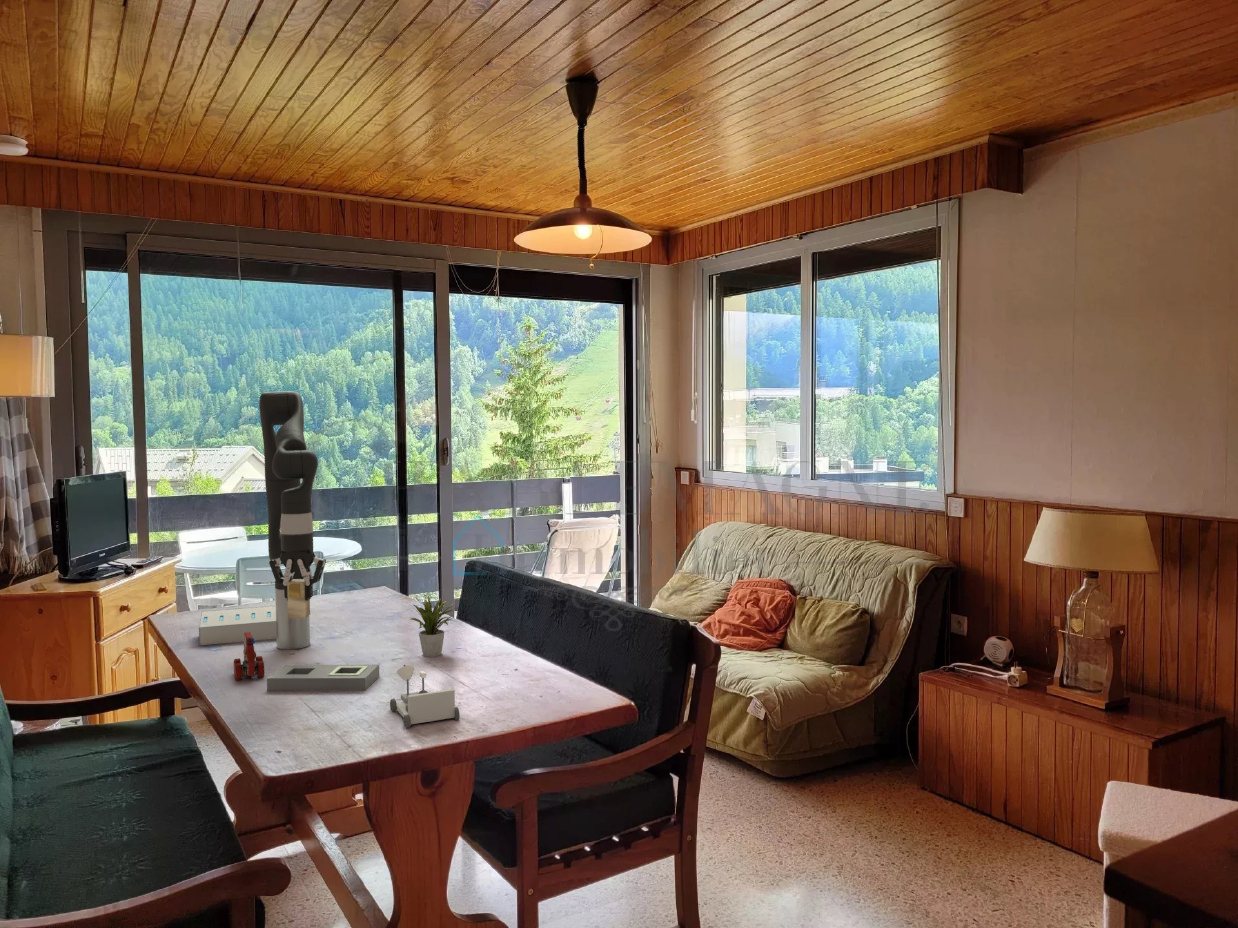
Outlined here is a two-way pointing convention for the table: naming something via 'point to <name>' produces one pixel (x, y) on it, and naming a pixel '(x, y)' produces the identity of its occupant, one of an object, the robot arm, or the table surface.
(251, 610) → the warehouse
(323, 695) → the table surface
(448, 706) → the toy car
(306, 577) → the robot arm
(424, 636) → the house plant
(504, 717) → the table surface
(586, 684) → the table surface
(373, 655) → the table surface
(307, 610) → the plug
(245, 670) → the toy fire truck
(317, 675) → the panel
